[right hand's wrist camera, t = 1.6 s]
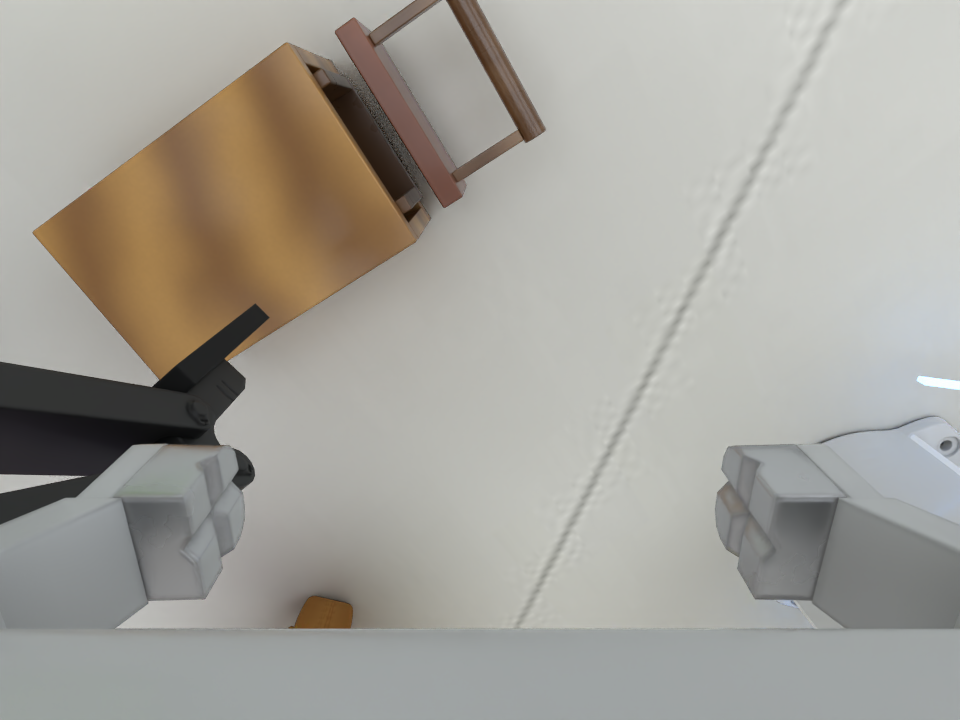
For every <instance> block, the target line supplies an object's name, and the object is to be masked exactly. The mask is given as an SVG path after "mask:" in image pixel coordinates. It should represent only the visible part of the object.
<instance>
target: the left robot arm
mask: <svg viewBox="0 0 960 720" xmlns="http://www.w3.org/2000/svg"><path fill="white" fill-rule="evenodd" d="M269 318H270V317H269V316H268V315H267V314H266V313H265V312H264V311H263V310H262V309H261V308H260V307H259V306H258V305H257V304H256V303H255V304H254V305H253V306H251V307H250V308H249V309H247V310H246V311H245V312H244V313H242V314H241V315H240V316H238V317H237V318H236V319H235V320H233V321H232V322H231V323H229V324H228V325H227V326H226V327H224V328H223V329H222V330H220V331H219V332H218V333H217V334H215V335H214V336H213V337H211V338H210V339H209V340H208V341H206V342H205V343H204V344H203V345H201V346H200V347H199V348H197V349H196V350H195V351H194V352H192V353H191V354H190V355H188V356H187V357H186V358H185V359H183V360H182V361H181V362H179V363H178V364H177V365H176V366H174V367H173V368H172V369H171V370H170V371H169V372H168V373H167V374H166V375H165V376H164V377H162V378H161V379H160V380H159V381H158V382H157V383H156V384H155V385H154V386H153V387H148V386H142V385H136V384H130V383H124V382H118V381H112V380H106V379H100V378H94V377H88V376H82V375H76V374H70V373H64V372H58V371H52V370H46V369H40V368H34V367H28V366H22V365H16V364H10V363H4V362H0V474H17V475H67V476H85V477H80V478H75V479H70V480H65V481H60V482H56V483H51V484H46V485H41V486H36V487H31V488H26V489H21V490H16V491H11V492H6V493H1V494H0V525H1V524H3V523H5V522H8V521H10V520H13V519H15V518H18V517H20V516H22V515H25V514H27V513H30V512H32V511H35V510H37V509H40V508H42V507H44V506H47V505H49V504H52V503H54V502H57V501H59V500H61V499H64V498H76V497H77V496H78V495H79V494H80V493H81V492H83V491H84V490H85V489H86V488H87V487H88V486H89V485H90V484H91V483H92V482H93V481H94V480H96V479H97V478H98V477H99V476H100V475H101V474H102V473H103V472H104V471H105V470H106V469H107V468H109V467H110V466H111V465H112V464H113V463H114V462H115V461H116V460H117V459H118V458H119V457H120V456H122V455H123V454H124V453H125V452H126V451H127V450H128V449H129V448H130V447H131V446H132V445H139V444H168V445H170V444H182V445H220V444H219V442H218V441H217V439H216V436H215V434H214V425H215V422H216V420H217V419H218V418H219V417H220V416H221V414H222V413H223V412H224V411H225V410H226V409H227V408H228V407H229V406H230V404H231V403H232V402H233V401H234V400H235V399H236V398H237V397H238V396H239V395H240V393H241V392H242V391H243V390H244V389H245V380H246V379H245V378H244V377H243V376H242V375H241V374H240V373H239V372H238V371H237V370H236V369H235V368H234V367H233V366H232V365H231V364H230V363H229V362H228V361H226V360H225V358H226V357H227V356H228V355H229V354H230V353H231V352H232V351H233V350H235V349H236V348H237V347H238V346H239V345H240V344H241V343H242V342H243V341H245V340H246V339H247V338H248V337H249V336H250V335H251V334H252V333H253V332H255V331H256V330H257V329H258V328H259V327H260V326H261V325H262V324H263V323H265V322H266V321H267V320H268V319H269ZM232 449H233V450H234V451H235V454H236V459H237V464H238V468H239V470H238V471H237V473H236V474H235V476H234V477H233V479H232V480H231V481H232V482H233V483H234V484H235V485H236V486H237V487H238V488H239V489H240V490H242V489H244V488H245V487H246V486H247V485H249V484H250V483H251V482H252V481H253V479H254V477H255V471H254V467H253V465H252V463H251V461H250V460H249V459H248V458H247V456H246V455H244V454H243V453H242V452H240V451H239V450H236V449H234V448H232Z"/></svg>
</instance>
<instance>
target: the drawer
mask: <svg viewBox="0 0 960 720" xmlns="http://www.w3.org/2000/svg"><path fill="white" fill-rule="evenodd" d="M440 1H441V0H415V1H414V2H412V3H411V4H409V5H408V6H407V7H405V8H404V9H403V10H401V11H400V12H398V13H397V14H396V15H394V16H393V17H391V18H390V19H389V20H387V21H386V22H385V23H383V24H382V25H380V26H379V27H378V28H376V29H375V30H374V31H372V32H371V31H370V30H369V29H368V28H366V27H365V26H364V25H363V24H362V23H360V22H359V21H358V20H357V19H356V18H352V19H351V20H349V21H348V22H346V23H345V24H344V25H342V26H341V27H340V28H338V29H337V30H336V31H335V34H336V35H337V37H338V39H339V40H340V42H341V43H342V45H343V47H344V48H345V50H346V52H347V53H348V55H349V56H350V58H351V60H352V61H353V63H354V64H355V66H356V68H357V69H358V71H359V72H360V74H361V76H362V77H363V79H364V81H365V82H366V84H367V85H368V87H369V89H370V90H371V92H372V93H373V95H374V97H375V98H376V100H377V101H378V103H379V105H380V106H381V108H382V109H383V111H384V113H385V114H386V116H387V118H388V119H389V121H390V122H391V124H392V126H393V127H394V129H395V130H396V132H397V134H398V135H399V137H400V138H401V140H402V142H403V143H404V145H405V146H406V148H407V150H408V151H409V153H410V155H411V156H412V158H413V159H414V161H415V163H416V164H417V166H418V167H419V169H420V171H421V172H422V174H423V175H424V177H425V179H426V180H427V182H428V183H429V185H430V187H431V188H432V190H433V192H434V193H435V195H436V196H437V198H438V200H439V201H440V203H441V204H442V206H443V207H444V208H446V207H447V206H449V205H450V204H452V203H454V202H455V201H457V200H458V199H460V198H461V197H462V196H463V194H464V191H465V188H466V186H467V185H466V183H465V181H464V178H466V177H467V176H469V175H470V174H472V173H473V172H475V171H476V170H478V169H480V168H481V167H483V166H484V165H486V164H487V163H489V162H490V161H492V160H494V159H495V158H497V157H498V156H500V155H501V154H503V153H504V152H506V151H508V150H509V149H511V148H512V147H514V146H515V145H517V144H518V143H520V142H522V141H523V140H524V142H525V143H527V142H529V141H531V140H532V139H534V138H536V137H537V136H539V135H540V134H542V133H543V132H544V131H546V128H545V126H544V125H543V123H542V121H541V119H540V117H539V115H538V113H537V112H536V110H535V108H534V106H533V104H532V102H531V100H530V99H529V97H528V95H527V93H526V91H525V89H524V87H523V86H522V84H521V82H520V80H519V78H518V76H517V74H516V73H515V71H514V69H513V67H512V65H511V63H510V61H509V60H508V58H507V56H506V54H505V52H504V50H503V49H502V47H501V45H500V43H499V41H498V39H497V37H496V36H495V34H494V32H493V30H492V28H491V26H490V24H489V23H488V21H487V19H486V17H485V15H484V13H483V11H482V10H481V8H480V6H479V4H478V2H477V0H446V1H447V3H448V5H449V6H450V8H451V10H452V12H453V14H454V15H455V17H456V19H457V21H458V23H459V24H460V26H461V28H462V30H463V32H464V33H465V35H466V37H467V39H468V41H469V42H470V44H471V46H472V48H473V50H474V51H475V53H476V55H477V57H478V59H479V60H480V62H481V64H482V66H483V68H484V69H485V71H486V73H487V75H488V77H489V78H490V80H491V82H492V84H493V86H494V87H495V89H496V91H497V93H498V95H499V97H500V98H501V100H502V102H503V104H504V106H505V107H506V109H507V111H508V113H509V115H510V116H511V118H512V120H513V122H514V124H515V125H516V127H517V129H518V130H516V131H515V132H513V133H512V134H510V135H509V136H507V137H506V138H504V139H503V140H501V141H499V142H498V143H496V144H495V145H493V146H492V147H490V148H489V149H487V150H486V151H484V152H483V153H481V154H479V155H478V156H476V157H475V158H473V159H472V160H470V161H469V162H467V163H466V164H464V165H462V166H461V167H459V168H458V169H457V168H456V166H455V164H454V163H453V161H452V159H451V158H450V156H449V154H448V153H447V151H446V149H445V148H444V146H443V144H442V143H441V141H440V139H439V138H438V136H437V134H436V133H435V131H434V129H433V128H432V126H431V124H430V123H429V121H428V119H427V118H426V116H425V114H424V113H423V111H422V109H421V108H420V106H419V104H418V103H417V101H416V99H415V98H414V96H413V95H412V93H411V91H410V90H409V88H408V86H407V85H406V83H405V81H404V80H403V78H402V76H401V75H400V73H399V71H398V70H397V68H396V66H395V65H394V63H393V61H392V60H391V58H390V56H389V55H388V53H387V51H386V50H385V48H384V46H383V45H382V43H383V42H384V41H386V40H387V39H388V38H390V37H391V36H392V35H394V34H395V33H397V32H398V31H399V30H401V29H402V28H404V27H405V26H406V25H408V24H409V23H411V22H412V21H413V20H415V19H416V18H418V17H419V16H420V15H422V14H423V13H425V12H426V11H427V10H429V9H430V8H431V7H433V6H434V5H436V4H437V3H438V2H440ZM312 75H313V76H314V78H315V79H316V81H317V83H318V84H319V86H320V87H321V89H322V90H323V92H324V93H325V95H326V96H327V98H328V100H329V101H330V103H331V104H332V106H333V107H334V109H335V110H336V112H337V113H338V115H339V117H340V118H341V120H342V121H343V123H344V124H345V126H346V127H347V129H348V130H349V132H350V134H351V135H352V137H353V138H354V140H355V141H356V143H357V144H358V146H359V147H360V149H361V151H362V152H363V154H364V155H365V157H366V158H367V160H368V161H369V163H370V164H371V166H372V168H373V169H374V171H375V172H376V174H377V175H378V177H379V178H380V180H381V181H382V183H383V185H384V186H385V188H386V189H387V191H388V192H389V194H390V195H391V197H392V198H393V200H394V202H395V203H396V205H397V206H398V208H399V209H400V211H401V212H402V214H404V213H406V212H407V211H409V210H410V209H412V208H413V207H414V206H415V204H416V203H417V202H418V201H419V200H420V199H421V198H422V197H423V196H422V194H421V193H420V191H419V190H418V188H417V186H416V185H415V183H414V182H413V180H412V178H411V177H410V175H409V174H408V172H407V170H406V169H405V167H404V166H403V164H402V163H401V161H400V159H399V158H398V156H397V155H396V153H395V151H394V150H393V148H392V147H391V145H390V143H389V142H388V140H387V139H386V137H385V135H384V134H383V132H382V131H381V129H380V128H379V126H378V124H377V123H376V121H375V120H374V118H373V116H372V115H371V113H370V112H369V110H368V108H367V107H366V105H365V104H364V102H363V101H362V99H361V97H360V96H359V94H358V93H357V91H356V89H355V88H354V86H353V85H352V83H351V81H350V80H349V78H348V77H346V76H342V75H339V74H337V73H334V72H331V71H328V70H326V69H323V68H321V69H319V70H318V71H316V72H315V73H314V74H312Z"/></svg>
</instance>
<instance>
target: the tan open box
mask: <svg viewBox="0 0 960 720" xmlns="http://www.w3.org/2000/svg"><path fill="white" fill-rule="evenodd" d="M321 68H323V69H326V70H328V71H331V72H334V73H337V74H339V72H338V71H337V69H336V68H335V66H334V65H333V63H332V61H331V60H329V59H328V60H327V59H325V58H322V57H320V56H318V55H316V54H313V53H311V52H309V51H306V50H304V49H302V48H299V47H297V46H295V45H292V44H290V43H285V44H283V45H282V46H281V47H279V48H278V49H277V50H275V51H274V52H273V53H271V54H270V55H269V56H267V57H266V58H265V59H263V60H262V61H261V62H259V63H258V64H257V65H255V66H254V67H253V68H251V69H250V70H249V71H247V72H246V73H245V74H243V75H242V76H240V77H239V78H238V79H236V80H235V81H234V82H232V83H231V84H230V85H228V86H227V87H226V88H224V89H223V90H222V91H220V92H219V93H218V94H216V95H215V96H214V97H212V98H211V99H210V100H208V101H207V102H206V103H204V104H203V105H202V106H200V107H199V108H198V109H196V110H195V111H194V112H192V113H191V114H190V115H188V116H187V117H186V118H184V119H183V120H182V121H180V122H179V123H178V124H176V125H175V126H174V127H172V128H171V129H170V130H168V131H167V132H166V133H164V134H163V135H161V136H160V137H159V138H157V139H156V140H155V141H153V142H152V143H151V144H149V145H148V146H147V147H145V148H144V149H143V150H141V151H140V152H139V153H137V154H136V155H135V156H133V157H132V158H131V159H129V160H128V161H127V162H125V163H124V164H123V165H121V166H120V167H119V168H117V169H116V170H115V171H113V172H112V173H111V174H109V175H108V176H107V177H105V178H104V179H103V180H101V181H100V182H99V183H97V184H96V185H95V186H93V187H92V188H91V189H89V190H88V191H87V192H85V193H84V194H82V195H81V196H80V197H78V198H77V199H76V200H74V201H73V202H72V203H70V204H69V205H68V206H66V207H65V208H64V209H62V210H61V211H60V212H58V213H57V214H56V215H54V216H53V217H52V218H50V219H49V220H48V221H46V222H45V223H44V224H42V225H41V226H40V227H38V228H37V229H36V230H34V231H33V234H34V235H35V237H36V238H37V239H38V240H39V241H40V242H41V243H42V245H43V246H44V247H45V248H46V249H47V250H48V252H49V253H50V254H51V255H52V256H53V257H54V258H55V260H56V261H57V262H58V263H59V264H60V265H61V267H62V268H63V269H64V270H65V271H66V272H67V273H68V275H69V276H70V277H71V278H72V279H73V280H74V282H75V283H76V284H77V285H78V286H79V287H80V289H81V290H82V291H83V292H84V293H85V294H86V295H87V297H88V298H89V299H90V300H91V301H92V302H93V304H94V305H95V306H96V307H97V308H98V309H99V310H100V312H101V313H102V314H103V315H104V316H105V317H106V319H107V320H108V321H109V322H110V323H111V324H112V325H113V327H114V328H115V329H116V330H117V331H118V332H119V334H120V335H121V336H122V337H123V338H124V339H125V340H126V342H127V343H128V344H129V345H130V346H131V347H132V349H133V350H134V351H135V352H136V353H137V354H138V355H139V357H140V358H141V359H142V360H143V361H144V362H145V364H146V365H147V366H148V367H149V368H150V369H151V370H152V372H153V373H154V374H155V375H156V376H157V377H158V379H159V380H160V379H161V378H162V377H164V376H165V375H166V374H167V373H168V372H169V371H170V370H171V369H172V368H173V367H174V366H176V365H177V364H178V363H179V362H181V361H182V360H183V359H185V358H186V357H187V356H188V355H190V354H191V353H192V352H194V351H195V350H196V349H197V348H199V347H200V346H201V345H203V344H204V343H205V342H206V341H208V340H209V339H210V338H211V337H213V336H214V335H215V334H217V333H218V332H219V331H220V330H222V329H223V328H224V327H226V326H227V325H228V324H229V323H231V322H232V321H233V320H235V319H236V318H237V317H238V316H240V315H241V314H242V313H244V312H245V311H246V310H247V309H249V308H250V307H251V306H253V305H254V304H255V303H256V304H257V305H258V306H259V307H260V308H261V309H262V310H263V311H264V312H265V313H266V314H267V315H268V316H269V317H270V318H269V319H268V320H267V321H266V322H265V323H263V324H262V325H261V326H260V327H259V328H258V329H257V330H256V331H255V332H253V333H252V334H251V335H250V336H249V337H248V338H247V339H246V340H245V341H243V342H242V343H241V344H240V345H239V346H238V347H237V348H236V349H235V350H233V351H232V352H231V353H230V354H229V355H228V356H227V357H226V358H225V360H226V361H228V360H230V359H231V358H233V357H235V356H236V355H238V354H239V353H241V352H242V351H244V350H246V349H247V348H249V347H250V346H252V345H254V344H255V343H257V342H258V341H260V340H261V339H263V338H265V337H266V336H268V335H269V334H271V333H273V332H274V331H276V330H277V329H279V328H280V327H282V326H284V325H285V324H287V323H288V322H290V321H292V320H293V319H295V318H296V317H298V316H299V315H301V314H303V313H304V312H306V311H307V310H309V309H311V308H312V307H314V306H315V305H317V304H318V303H320V302H322V301H323V300H325V299H326V298H328V297H330V296H331V295H333V294H334V293H336V292H337V291H339V290H341V289H342V288H344V287H345V286H347V285H349V284H350V283H352V282H353V281H355V280H356V279H358V278H360V277H361V276H363V275H364V274H366V273H368V272H369V271H371V270H372V269H374V268H375V267H377V266H379V265H380V264H382V263H383V262H385V261H387V260H388V259H390V258H391V257H393V256H395V255H396V254H398V253H399V252H401V251H402V250H404V249H406V248H407V247H409V246H410V245H412V244H414V243H415V242H416V241H417V239H418V238H419V237H420V235H421V233H422V232H423V230H424V229H425V227H426V225H427V224H428V222H429V221H430V220H431V217H430V216H429V215H428V213H427V212H426V210H425V208H424V207H423V205H422V204H421V202H420V201H418V202H417V203H416V204H415V206H414V207H413V208H412V209H410V210H409V211H407V212H406V213H404V214H402V212H401V211H400V209H399V208H398V206H397V205H396V203H395V202H394V200H393V198H392V197H391V195H390V194H389V192H388V191H387V189H386V188H385V186H384V185H383V183H382V181H381V180H380V178H379V177H378V175H377V174H376V172H375V171H374V169H373V168H372V166H371V164H370V163H369V161H368V160H367V158H366V157H365V155H364V154H363V152H362V151H361V149H360V147H359V146H358V144H357V143H356V141H355V140H354V138H353V137H352V135H351V134H350V132H349V130H348V129H347V127H346V126H345V124H344V123H343V121H342V120H341V118H340V117H339V115H338V113H337V112H336V110H335V109H334V107H333V106H332V104H331V103H330V101H329V100H328V98H327V96H326V95H325V93H324V92H323V90H322V89H321V87H320V86H319V84H318V83H317V81H316V79H315V78H314V76H313V75H312V74H314V73H315V72H316V71H318V70H319V69H321ZM339 75H340V74H339Z"/></svg>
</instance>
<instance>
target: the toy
mask: <svg viewBox="0 0 960 720" xmlns="http://www.w3.org/2000/svg"><path fill="white" fill-rule="evenodd" d="M352 617H353V608H352V606H351V605H350V604H348V603H344V602H340V601H336V600H331V599H327V598H322V597H318V596H311V597H309V598H308V600H307V601H306V602H305V604H304V606H303V607H302V609H301V611H300V613H299V616H298V618H297V620H296V623H295V626H294V627H293V626H290V627H289V628H288V629H350V628H351V623H352Z"/></svg>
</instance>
